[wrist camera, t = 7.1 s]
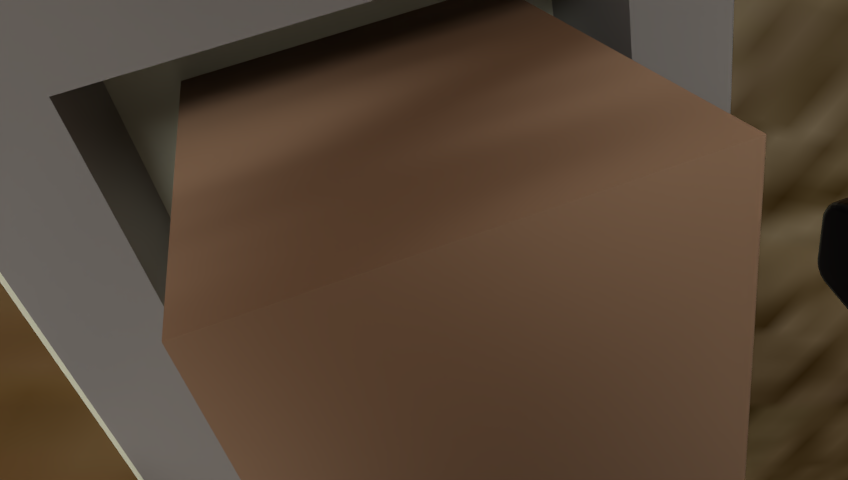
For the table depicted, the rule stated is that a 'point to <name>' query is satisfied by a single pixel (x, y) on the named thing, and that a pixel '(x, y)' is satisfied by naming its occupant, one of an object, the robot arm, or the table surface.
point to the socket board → (155, 161)
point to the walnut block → (464, 257)
